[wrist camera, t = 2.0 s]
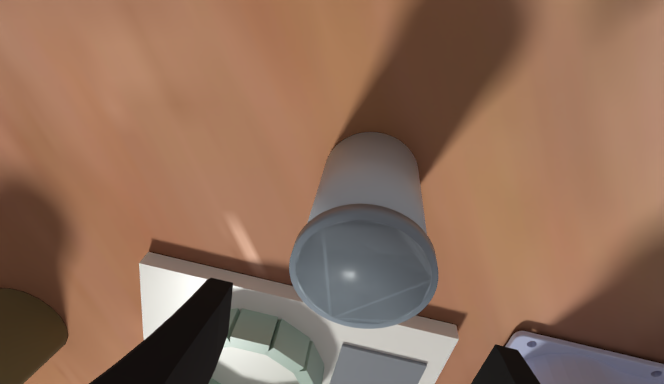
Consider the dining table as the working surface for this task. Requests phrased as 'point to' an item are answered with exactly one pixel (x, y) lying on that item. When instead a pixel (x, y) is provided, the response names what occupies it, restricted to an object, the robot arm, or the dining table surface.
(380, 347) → the white base plate
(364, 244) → the tube
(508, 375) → the robot arm
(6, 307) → the cork
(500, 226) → the dining table surface
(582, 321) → the dining table surface
